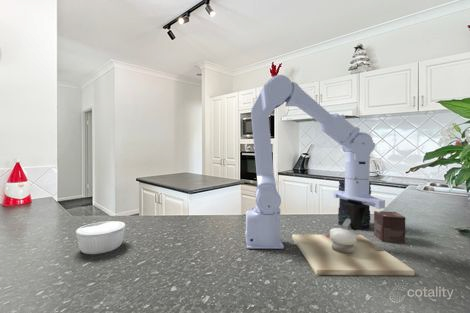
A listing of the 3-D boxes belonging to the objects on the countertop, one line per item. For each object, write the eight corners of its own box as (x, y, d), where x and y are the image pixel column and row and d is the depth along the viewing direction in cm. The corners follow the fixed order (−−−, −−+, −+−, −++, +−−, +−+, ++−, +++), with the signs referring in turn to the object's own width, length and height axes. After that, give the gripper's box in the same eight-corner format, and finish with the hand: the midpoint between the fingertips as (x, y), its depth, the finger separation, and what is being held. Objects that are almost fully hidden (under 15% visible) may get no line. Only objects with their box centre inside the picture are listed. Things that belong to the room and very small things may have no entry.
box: (405, 243, 64) (406, 217, 64) (381, 242, 65) (382, 216, 65) (395, 235, 70) (395, 211, 70) (373, 234, 71) (373, 210, 71)
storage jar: (344, 219, 87) (345, 179, 86) (374, 225, 79) (375, 181, 79) (332, 224, 80) (333, 181, 79) (363, 232, 73) (365, 184, 72)
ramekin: (107, 236, 68) (107, 218, 68) (135, 243, 63) (135, 224, 63) (65, 251, 58) (65, 230, 58) (94, 260, 53) (94, 237, 53)
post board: (316, 274, 48) (316, 260, 47) (292, 237, 68) (292, 227, 67) (414, 275, 48) (414, 260, 48) (361, 238, 68) (361, 228, 68)
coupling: (354, 247, 53) (355, 234, 53) (327, 241, 57) (327, 228, 57) (361, 231, 64) (361, 220, 64) (337, 227, 67) (338, 217, 67)
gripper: (394, 181, 56) (393, 237, 56) (346, 175, 70) (346, 220, 70) (373, 182, 54) (371, 240, 54) (327, 175, 67) (327, 222, 68)
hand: (355, 229), depth 62 cm, fingers closed, pressing on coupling
